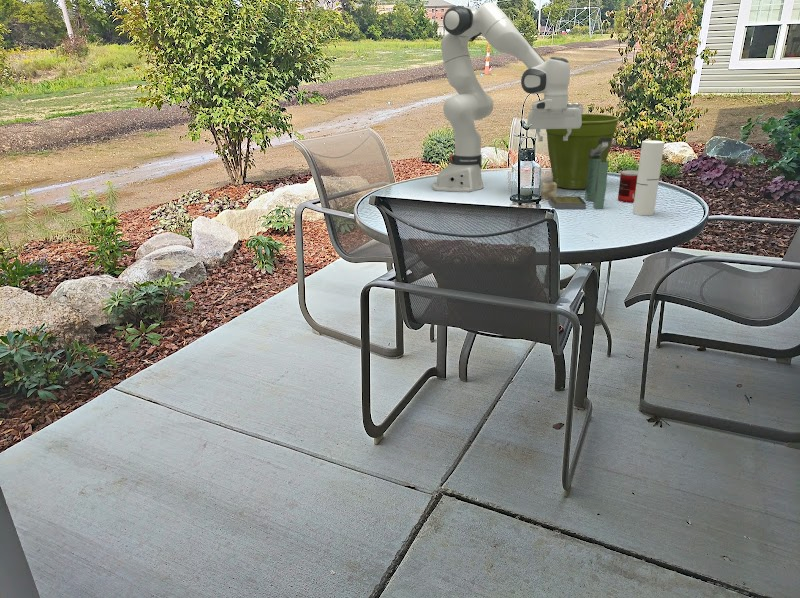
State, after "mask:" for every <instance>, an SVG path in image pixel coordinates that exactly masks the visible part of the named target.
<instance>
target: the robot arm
mask: <svg viewBox="0 0 800 598" xmlns="http://www.w3.org/2000/svg"><path fill="white" fill-rule="evenodd" d="M442 22H443V28H444V30H445V31H446V32H447V34H445V35H444V36H443V37H442V39H441V42H440V47H441V55H442V56H441V57H442V62H443V66H444V69H445V74H446V77H447V81H448V84H449V85H450V86H451V87H452V88H454V90H456V92H457V93H458V94H456V95H453V96H450V97H448V98H446V100H445V102H444V103H443V111H442V112H443V114H444V117H445V119H446V120H448V121H449V123H450V125H451V127H452V130H453V134H454V154H452V153H451V154H449V156H448V158H449V162H450V163H449V164H448V165H446V166H445V167H444V168H443V169H442V170H440V171H439V173H438V175H437V178H436V182H433V183H432V185H431V189H432V190H433V191H435V192H436V191H438V192H439V191H440V192H441V191H442V192H460V193H461V192H462V193H463V192H465V193H466V192H467V193H468V192H469V193H470V192H472V191H477V190H481V189H483V188H484V184H483V179H482V165H483V163H482V162H483V157H482V155H483V154H482V153H481V151H482V136H481V133H480V132H478V131H477V127H476V124H475V121H478V120H479V121H480V120H482V119H485V118H487V117H489V116H490V115H491V114H492V113H493V110H494V101H493V99H492V98H493V97H491V96H490V95H489V94H488V93H487V92H486V91H485V90H484V89H483V87H482V86H481V84H480V81H479V80H478V78H477V76H476V73H475V70H474V66H473V63H472V60H471V55H470V52H469V47H468V45H469V42H470V43H473V42H475V40H476V39H477V38H478V37H480V36H481V35H482V36H483V37H484V38H485V40H486V41H487V43H488V44H489V45H490V46H491V47H492V48H493V49H494V50H496V51H497V52H499V53H503V54H506V55H510V56H513V57H514V58H517V59H519V60H520V61H521V62H522V63H523V64H524V65H525V66H526V68H527V69H526V70H525V71H524V72H523V74H522V75H521V77H520V84H521V88H522V90H523V91H524V92H525V93H527V94H531V95H537V94H538V95H539V94H543V98H541V99H539V100H536V101H534V102H532V103H531V104H530V105H531V110H529V112H528V115H527V123H526V126H527V125H528V126H529V125H530V124H532V126H531V127H530V128H529V130H535V133H536V135H537V138H538V139H537V140H538V142H543V140H544V136H543V135H542V136H541V134H540V133H541V130H546V129H567V131H568V133H567V134H566V136H563V141H568V136H569V135H570V133H571V130H572V129H579V128H580V127H581V125H582V117H581V115H582V114H584V105H582V104H581V103H579V102H575V103H573V102H569V91H568V89H569V85H570V78H571V76H570V75H571V69H570V67H571V66H570V62H569V60H568V59H566V58H564V57H559V56H550V57H549V58H548V59H546V60H545V58H543V57H542V56H541V55H540V54H539V52H538V51H537V50H536V49H535V48H534V46H532V44H530V42H528V41H527V39H526V38H525V37H524V36H523V35H522V34H521V33H520V31H519V30H518V29H517V28H516V26H515V25H514V24H513V22H512V21H511V20H510V18H509V17H508V16H507V14H505V12H504V11H503V10H502V9H501V8H500V7H499V6H498V5H496V4H495V3H494V2H490V1H488V2H485V3H483V4H481V5H480V6H479V7H478V8H476V7H472V6H466V5H465V6H462V5H455V6H451V7H450V8H448V9H447V10H445V13H444V15H443V18H442Z"/></svg>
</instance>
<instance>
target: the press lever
mask: <svg viewBox="0 0 800 598" xmlns="http://www.w3.org/2000/svg"><path fill="white" fill-rule="evenodd" d="M610 142H611V138H600V139H599V140H598V144H600V145H599V146H598V147H597V148H596V149H590V152H589V156H590V157H601V156H602V152H603V151H604V150H605V149H606V148H607V147H608V144H609V143H610Z"/></svg>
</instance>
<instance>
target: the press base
mask: <svg viewBox="0 0 800 598" xmlns="http://www.w3.org/2000/svg"><path fill="white" fill-rule="evenodd" d="M608 171H609V161H608V160H606V161H602V159H601V158H600V157H589V159H588V169H587V179H586V189H584V190H585V191H584V199H582V197H581V196H556V197H548V200H547V202H548V204H549V206H550V207H551V206H552V207H551V208H555V209H554V210H586V209H587V203H586V202H593V208H594V209H595V210H601V209H602V210H603V209H604V207H605V206H604V205H605V198H606V188H607V182H608V181H607V179H608ZM584 200H585V201H586V202H585V201H584Z"/></svg>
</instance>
